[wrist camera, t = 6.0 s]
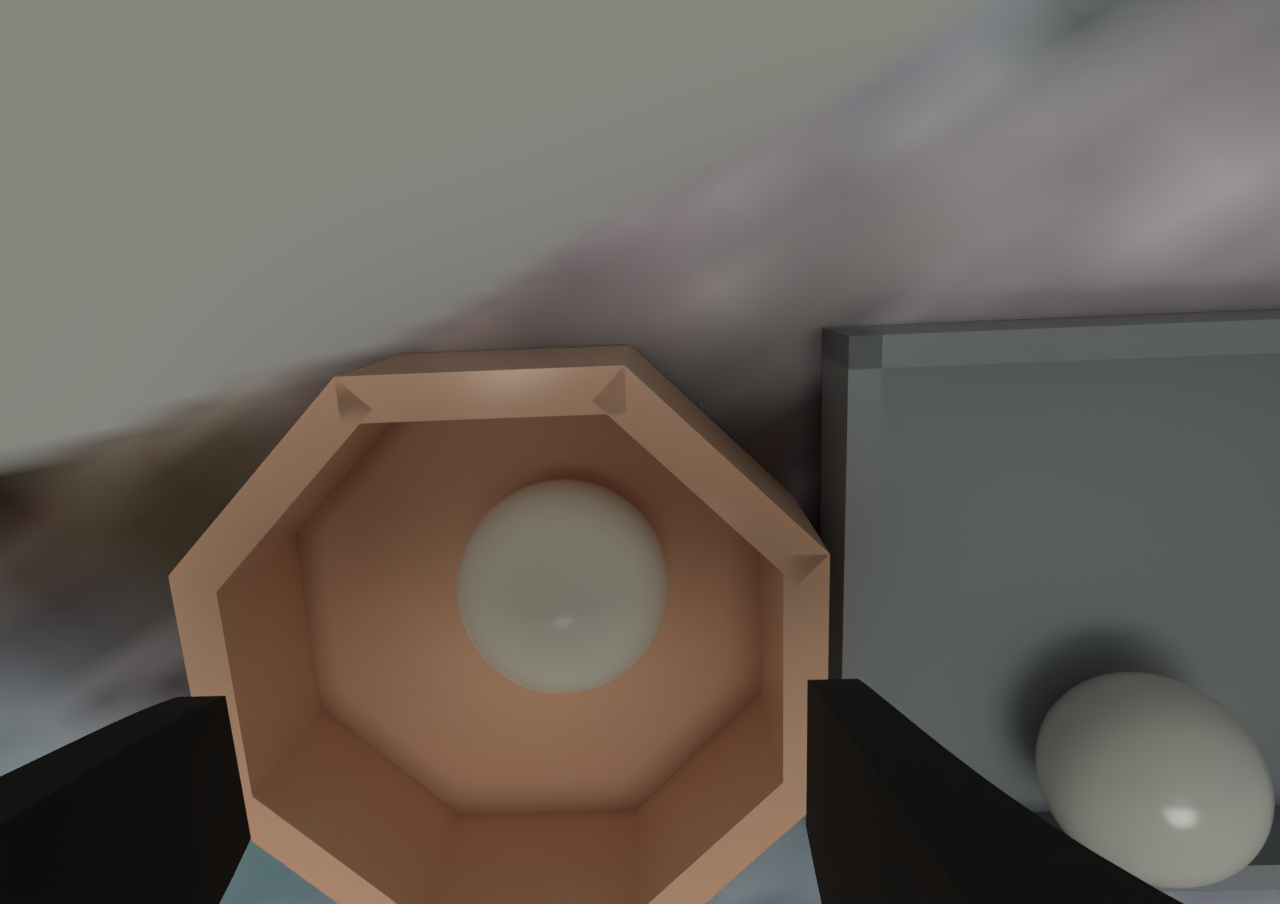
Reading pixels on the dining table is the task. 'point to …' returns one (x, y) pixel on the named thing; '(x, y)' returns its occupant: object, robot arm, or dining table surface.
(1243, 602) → the parts tray
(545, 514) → the cream pebble
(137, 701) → the dining table surface
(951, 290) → the dining table surface
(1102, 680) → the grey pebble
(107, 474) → the dining table surface
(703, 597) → the bowl
